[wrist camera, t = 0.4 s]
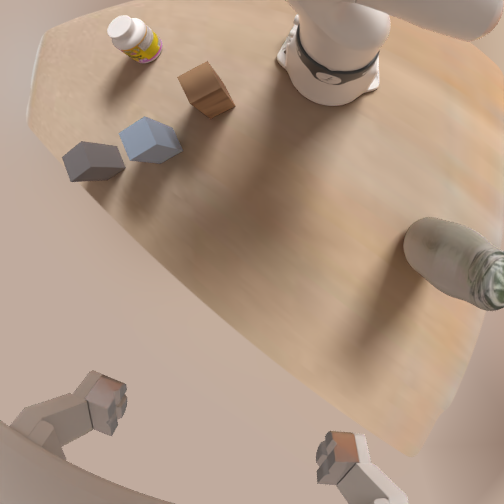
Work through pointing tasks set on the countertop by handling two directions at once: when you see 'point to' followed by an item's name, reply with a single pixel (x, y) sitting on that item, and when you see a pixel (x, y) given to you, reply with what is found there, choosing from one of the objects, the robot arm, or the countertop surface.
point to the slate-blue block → (150, 141)
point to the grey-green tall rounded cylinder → (457, 261)
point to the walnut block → (206, 90)
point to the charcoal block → (93, 162)
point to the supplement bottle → (135, 39)
